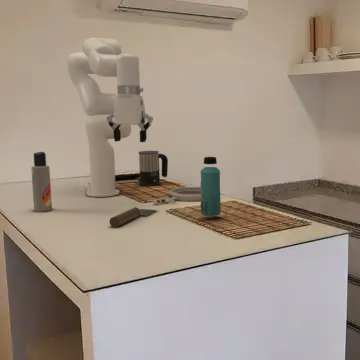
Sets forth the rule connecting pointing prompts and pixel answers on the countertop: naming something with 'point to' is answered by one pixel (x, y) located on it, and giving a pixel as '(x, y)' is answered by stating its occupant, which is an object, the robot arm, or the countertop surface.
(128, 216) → the spatula
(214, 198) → the beverage bottle
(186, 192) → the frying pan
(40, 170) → the lotion bottle
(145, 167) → the milk frother
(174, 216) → the countertop surface
